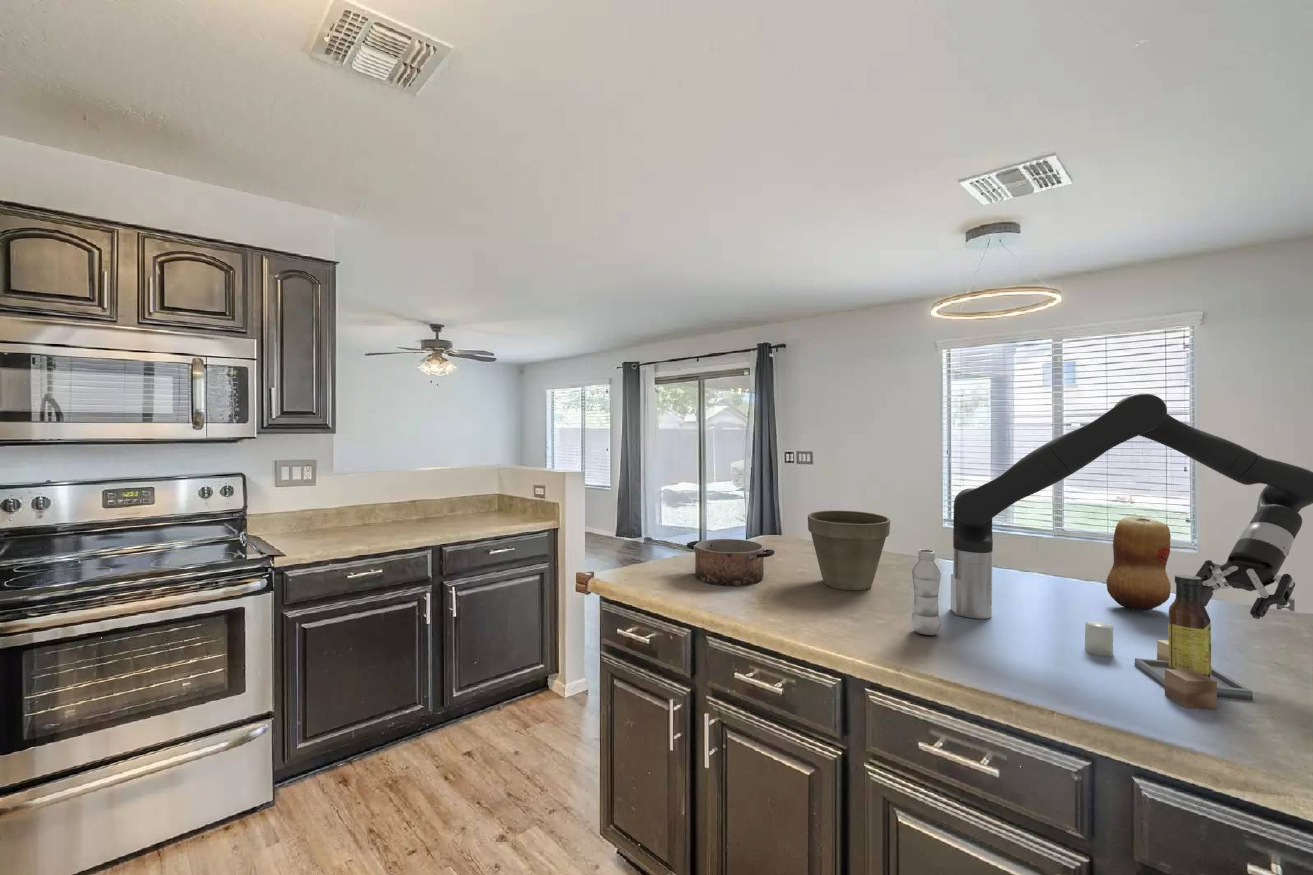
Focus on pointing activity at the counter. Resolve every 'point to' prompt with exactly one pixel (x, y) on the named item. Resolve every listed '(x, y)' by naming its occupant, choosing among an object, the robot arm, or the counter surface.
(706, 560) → the cooking pot
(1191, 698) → the walnut block
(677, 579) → the counter surface
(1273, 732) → the counter surface
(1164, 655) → the oak block
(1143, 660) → the tray
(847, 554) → the plant pot
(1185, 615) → the sauce bottle
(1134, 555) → the butternut squash
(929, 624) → the plastic bottle
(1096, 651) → the white rounded cylinder
